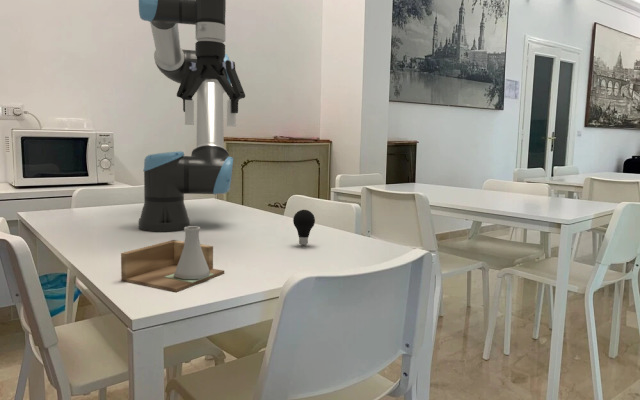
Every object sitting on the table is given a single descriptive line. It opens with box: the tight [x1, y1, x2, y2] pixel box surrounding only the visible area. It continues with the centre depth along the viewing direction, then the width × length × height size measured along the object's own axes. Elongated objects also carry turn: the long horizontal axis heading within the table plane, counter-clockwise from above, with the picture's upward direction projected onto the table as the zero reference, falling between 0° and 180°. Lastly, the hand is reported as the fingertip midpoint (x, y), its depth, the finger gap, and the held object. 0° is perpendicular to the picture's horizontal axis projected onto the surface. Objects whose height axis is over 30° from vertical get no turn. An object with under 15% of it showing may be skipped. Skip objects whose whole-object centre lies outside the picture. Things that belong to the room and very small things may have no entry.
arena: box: [120, 239, 225, 293], centre depth 104 cm, size 14×15×6 cm
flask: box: [174, 225, 210, 279], centre depth 102 cm, size 7×7×10 cm
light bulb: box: [292, 209, 316, 247], centre depth 136 cm, size 6×6×10 cm
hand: (209, 125), depth 132 cm, fingers open, 13 cm apart
